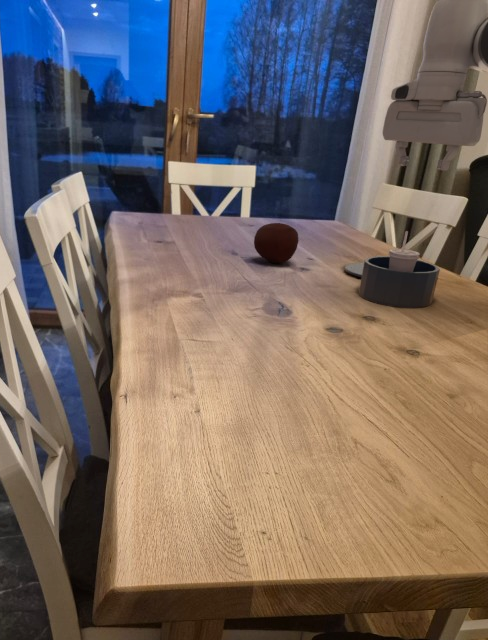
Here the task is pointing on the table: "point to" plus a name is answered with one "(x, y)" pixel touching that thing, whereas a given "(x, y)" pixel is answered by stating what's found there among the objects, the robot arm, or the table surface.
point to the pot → (398, 283)
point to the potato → (276, 242)
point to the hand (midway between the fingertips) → (421, 167)
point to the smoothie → (403, 258)
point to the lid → (355, 269)
